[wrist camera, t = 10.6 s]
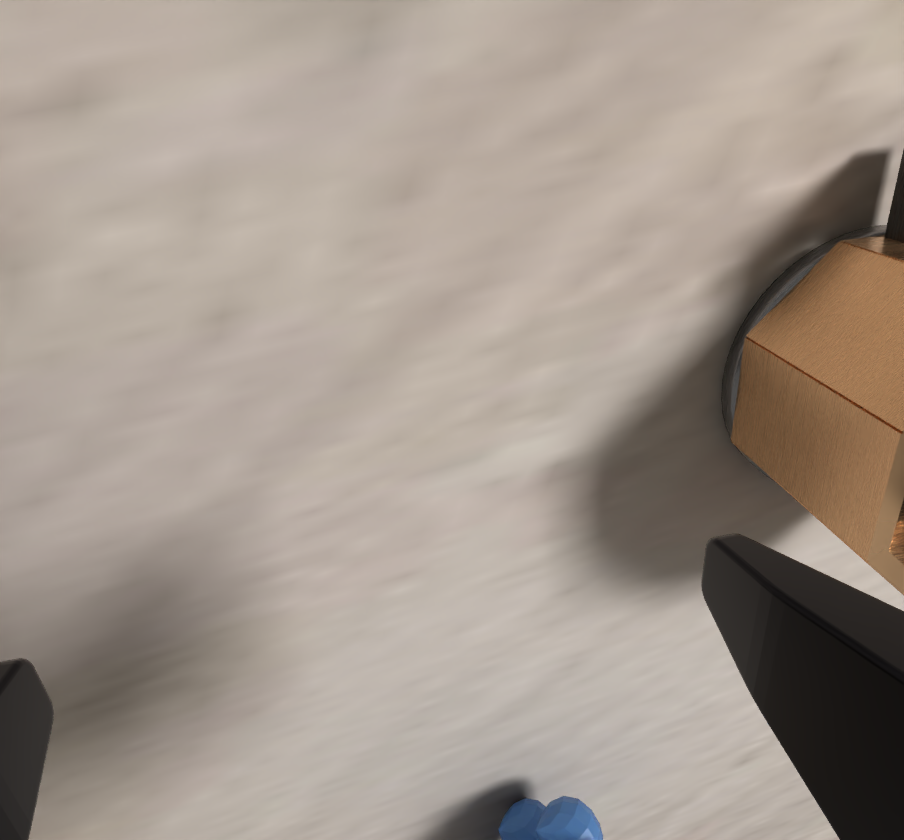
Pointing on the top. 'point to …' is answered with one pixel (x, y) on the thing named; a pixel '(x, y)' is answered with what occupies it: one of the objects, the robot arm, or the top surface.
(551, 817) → the grapes
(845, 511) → the octagonal wooden mug
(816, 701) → the robot arm
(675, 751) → the top surface
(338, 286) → the top surface
